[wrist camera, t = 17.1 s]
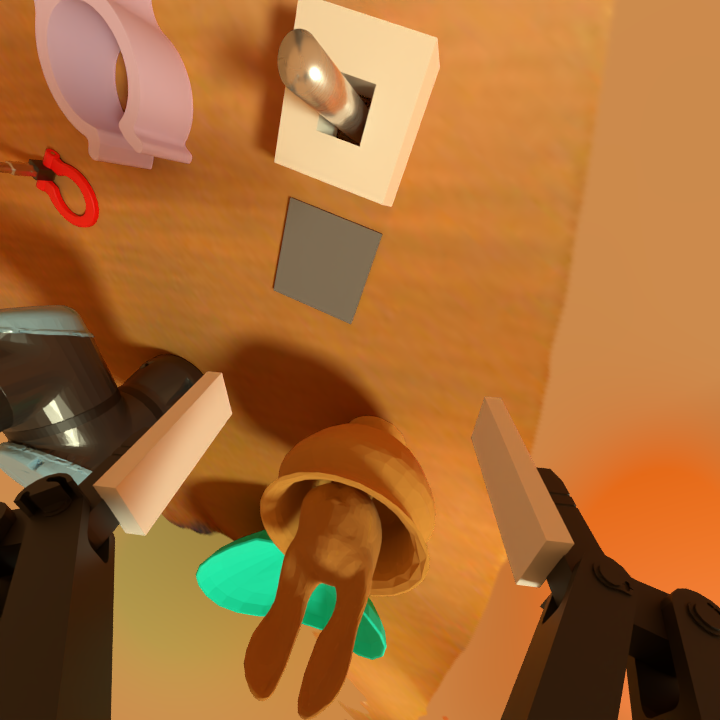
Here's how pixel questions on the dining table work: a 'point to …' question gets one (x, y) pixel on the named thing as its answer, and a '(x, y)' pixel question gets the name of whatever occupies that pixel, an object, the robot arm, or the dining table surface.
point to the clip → (97, 78)
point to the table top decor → (259, 586)
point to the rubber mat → (324, 260)
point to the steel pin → (320, 83)
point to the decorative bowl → (339, 547)
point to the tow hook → (45, 177)
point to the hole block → (370, 79)
